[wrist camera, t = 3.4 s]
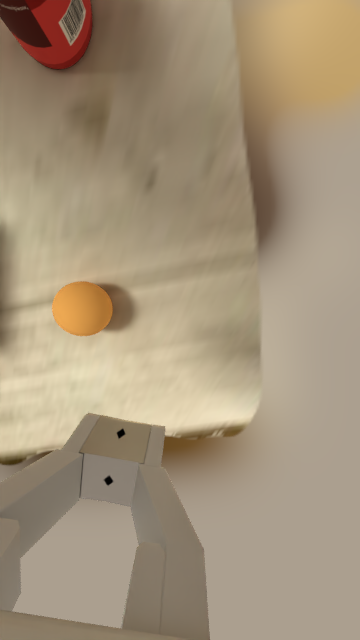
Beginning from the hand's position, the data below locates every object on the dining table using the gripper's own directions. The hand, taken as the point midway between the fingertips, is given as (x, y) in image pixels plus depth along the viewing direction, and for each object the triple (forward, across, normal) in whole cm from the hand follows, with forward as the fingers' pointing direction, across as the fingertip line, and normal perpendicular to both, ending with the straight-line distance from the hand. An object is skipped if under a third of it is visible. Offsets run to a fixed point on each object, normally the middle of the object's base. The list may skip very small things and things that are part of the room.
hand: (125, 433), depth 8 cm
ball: (+15, +9, 0) cm, 18 cm away
